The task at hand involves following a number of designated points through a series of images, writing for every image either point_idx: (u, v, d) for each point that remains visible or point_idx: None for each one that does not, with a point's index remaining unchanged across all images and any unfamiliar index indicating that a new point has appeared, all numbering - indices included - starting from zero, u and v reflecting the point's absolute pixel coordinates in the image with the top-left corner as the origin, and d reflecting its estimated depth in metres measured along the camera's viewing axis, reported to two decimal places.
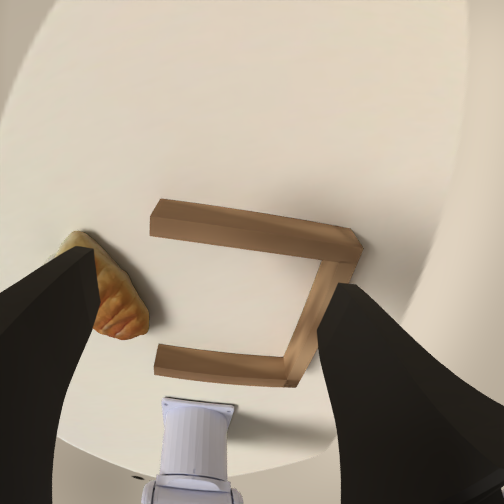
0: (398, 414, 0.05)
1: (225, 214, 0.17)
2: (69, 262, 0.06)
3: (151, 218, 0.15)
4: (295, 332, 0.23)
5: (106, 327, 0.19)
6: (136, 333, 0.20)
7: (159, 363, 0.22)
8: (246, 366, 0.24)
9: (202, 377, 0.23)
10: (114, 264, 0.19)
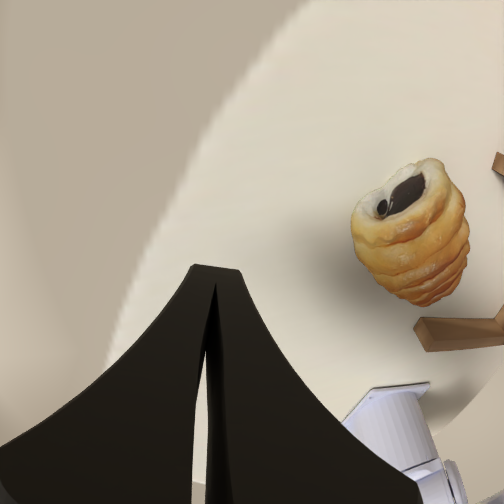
0: (218, 421, 0.04)
1: None
2: (206, 284, 0.07)
3: None
4: None
5: (439, 287, 0.14)
6: (451, 292, 0.16)
7: (436, 336, 0.18)
8: (483, 328, 0.20)
9: (463, 343, 0.18)
10: None
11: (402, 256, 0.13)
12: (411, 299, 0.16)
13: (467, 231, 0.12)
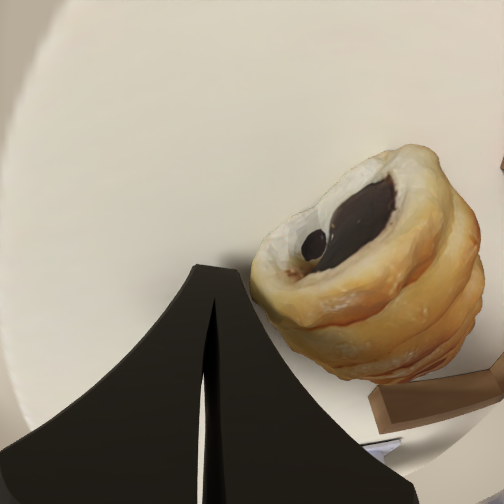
0: (213, 420, 0.04)
1: None
2: (208, 284, 0.07)
3: None
4: None
5: (423, 368, 0.08)
6: None
7: (396, 416, 0.12)
8: (472, 388, 0.14)
9: (439, 417, 0.12)
10: None
11: (343, 346, 0.07)
12: (376, 383, 0.09)
13: (480, 285, 0.06)
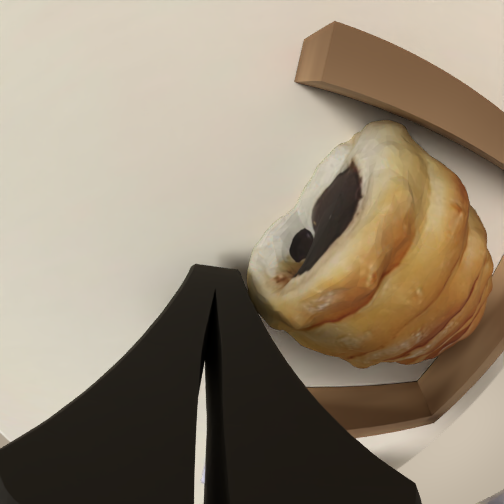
0: (216, 421, 0.04)
1: None
2: (207, 284, 0.07)
3: (338, 27, 0.04)
4: None
5: (445, 342, 0.08)
6: None
7: None
8: (378, 405, 0.13)
9: None
10: None
11: (344, 339, 0.07)
12: (402, 363, 0.09)
13: (480, 250, 0.06)
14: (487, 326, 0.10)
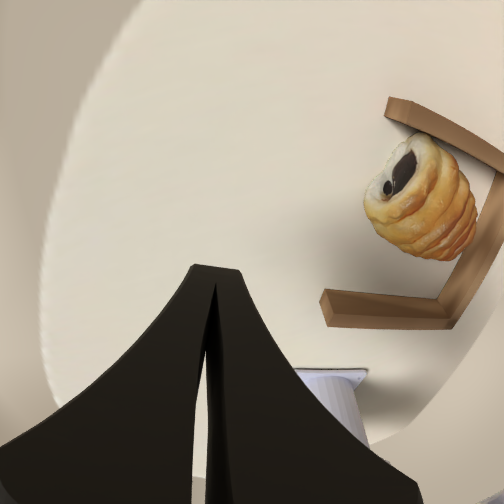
0: (218, 421, 0.04)
1: None
2: (206, 284, 0.07)
3: (412, 104, 0.11)
4: (458, 266, 0.20)
5: (456, 241, 0.16)
6: (471, 241, 0.16)
7: (338, 309, 0.19)
8: (415, 307, 0.20)
9: (382, 322, 0.19)
10: None
11: (413, 226, 0.15)
12: (436, 257, 0.17)
13: (465, 187, 0.13)
14: (477, 251, 0.18)
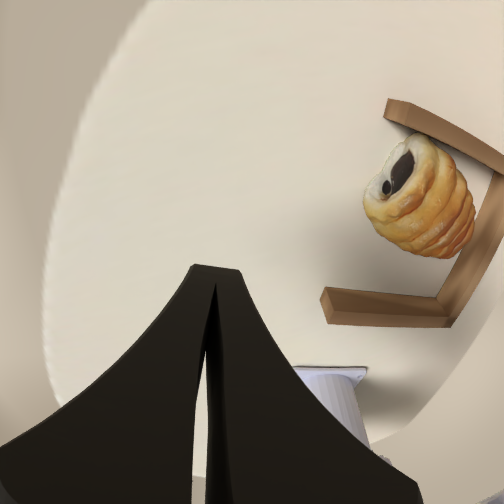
0: (217, 421, 0.04)
1: None
2: (206, 284, 0.07)
3: (411, 105, 0.12)
4: (457, 265, 0.20)
5: (455, 239, 0.16)
6: (470, 239, 0.17)
7: (338, 307, 0.19)
8: (415, 305, 0.21)
9: (381, 319, 0.19)
10: None
11: (412, 224, 0.15)
12: (435, 255, 0.17)
13: (463, 186, 0.14)
14: (475, 250, 0.18)
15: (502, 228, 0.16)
